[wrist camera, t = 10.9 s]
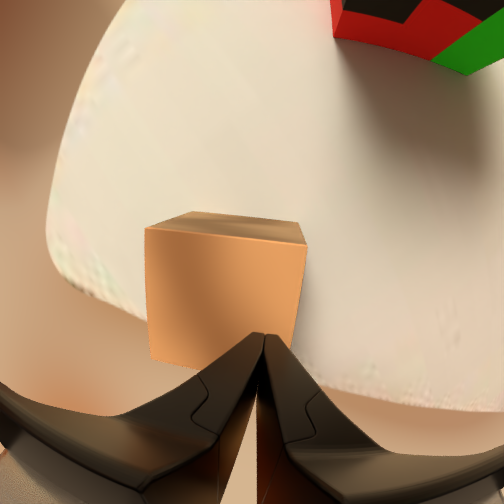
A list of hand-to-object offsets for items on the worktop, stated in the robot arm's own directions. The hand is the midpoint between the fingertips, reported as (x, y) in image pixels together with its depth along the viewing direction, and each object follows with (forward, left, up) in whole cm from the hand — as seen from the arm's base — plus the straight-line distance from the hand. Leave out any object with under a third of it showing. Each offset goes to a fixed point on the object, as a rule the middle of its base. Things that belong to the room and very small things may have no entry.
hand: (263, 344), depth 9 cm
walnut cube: (+2, 0, -2) cm, 3 cm away
